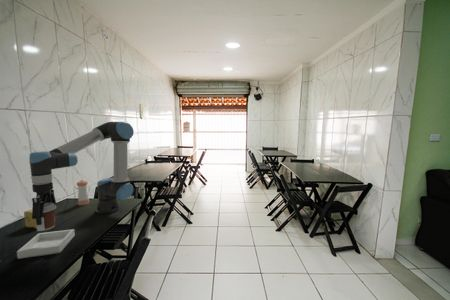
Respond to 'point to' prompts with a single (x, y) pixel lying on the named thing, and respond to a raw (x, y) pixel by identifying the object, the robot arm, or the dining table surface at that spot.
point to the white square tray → (46, 243)
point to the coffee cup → (49, 215)
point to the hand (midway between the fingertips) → (46, 225)
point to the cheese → (29, 219)
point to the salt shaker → (82, 193)
